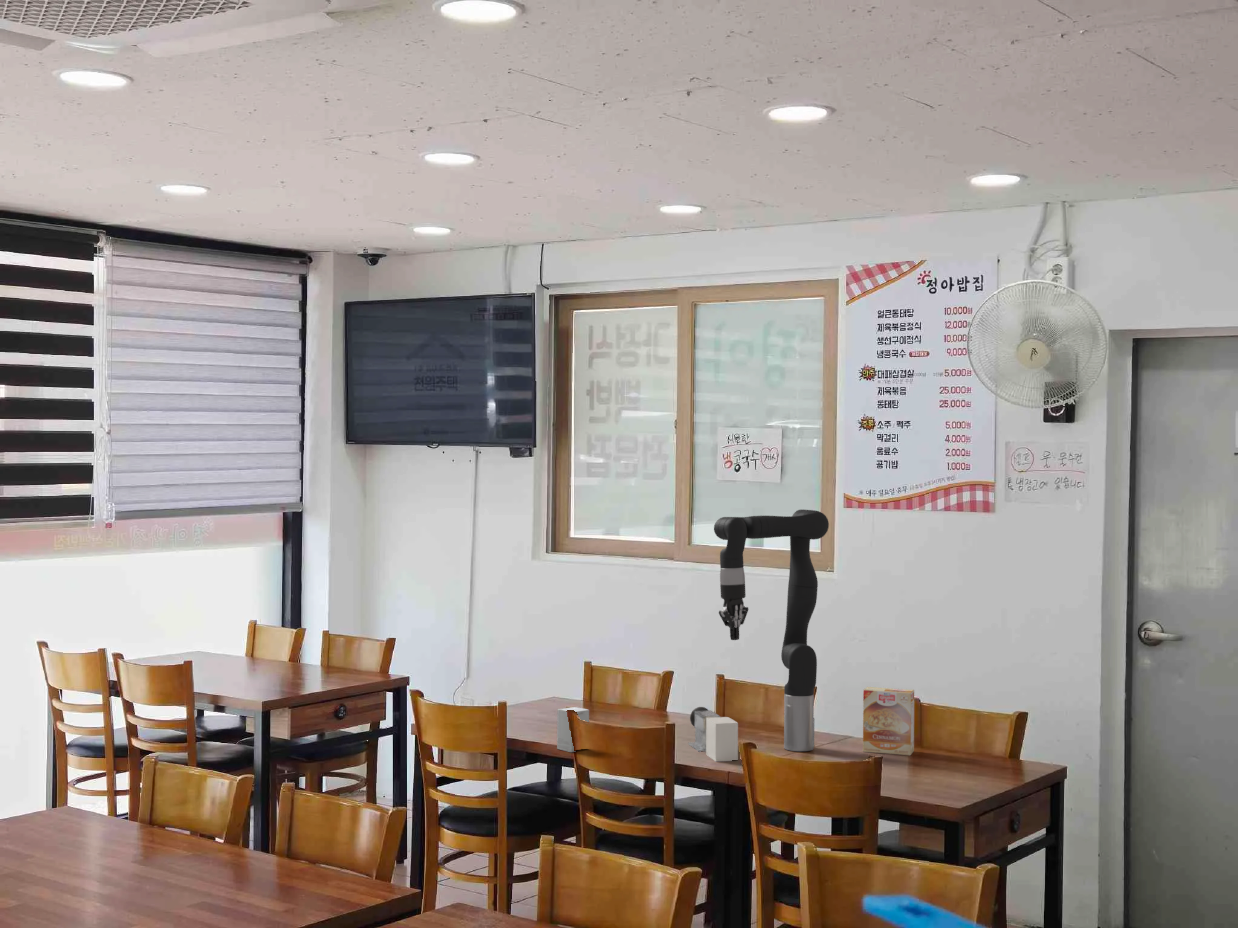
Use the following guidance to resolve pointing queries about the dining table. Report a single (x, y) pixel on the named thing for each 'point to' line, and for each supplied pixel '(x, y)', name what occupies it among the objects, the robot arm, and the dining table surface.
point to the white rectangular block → (721, 739)
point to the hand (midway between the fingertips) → (734, 639)
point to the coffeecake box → (888, 720)
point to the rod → (692, 716)
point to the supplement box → (567, 727)
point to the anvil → (701, 729)
